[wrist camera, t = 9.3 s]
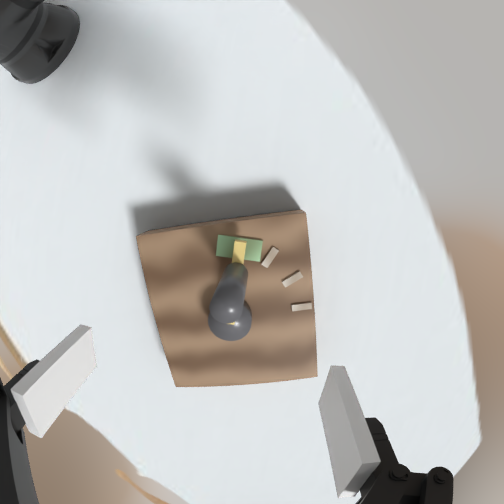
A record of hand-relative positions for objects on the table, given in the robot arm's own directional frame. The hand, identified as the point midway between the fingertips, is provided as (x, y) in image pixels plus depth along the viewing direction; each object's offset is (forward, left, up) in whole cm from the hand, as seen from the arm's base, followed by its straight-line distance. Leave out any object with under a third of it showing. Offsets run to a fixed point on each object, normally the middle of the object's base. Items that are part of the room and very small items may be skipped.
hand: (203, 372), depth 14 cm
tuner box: (+6, -1, -24) cm, 25 cm away
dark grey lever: (+3, -1, -20) cm, 20 cm away
